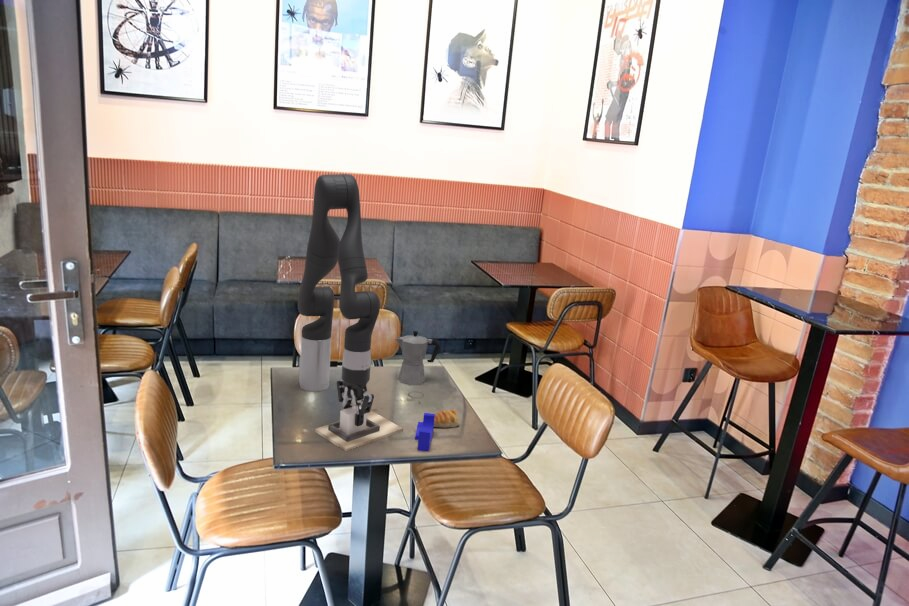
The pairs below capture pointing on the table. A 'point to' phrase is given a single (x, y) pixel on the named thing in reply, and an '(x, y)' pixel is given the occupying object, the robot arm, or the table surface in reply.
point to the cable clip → (425, 432)
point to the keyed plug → (350, 421)
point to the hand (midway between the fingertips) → (353, 421)
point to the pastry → (446, 419)
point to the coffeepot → (415, 357)
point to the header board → (359, 432)
